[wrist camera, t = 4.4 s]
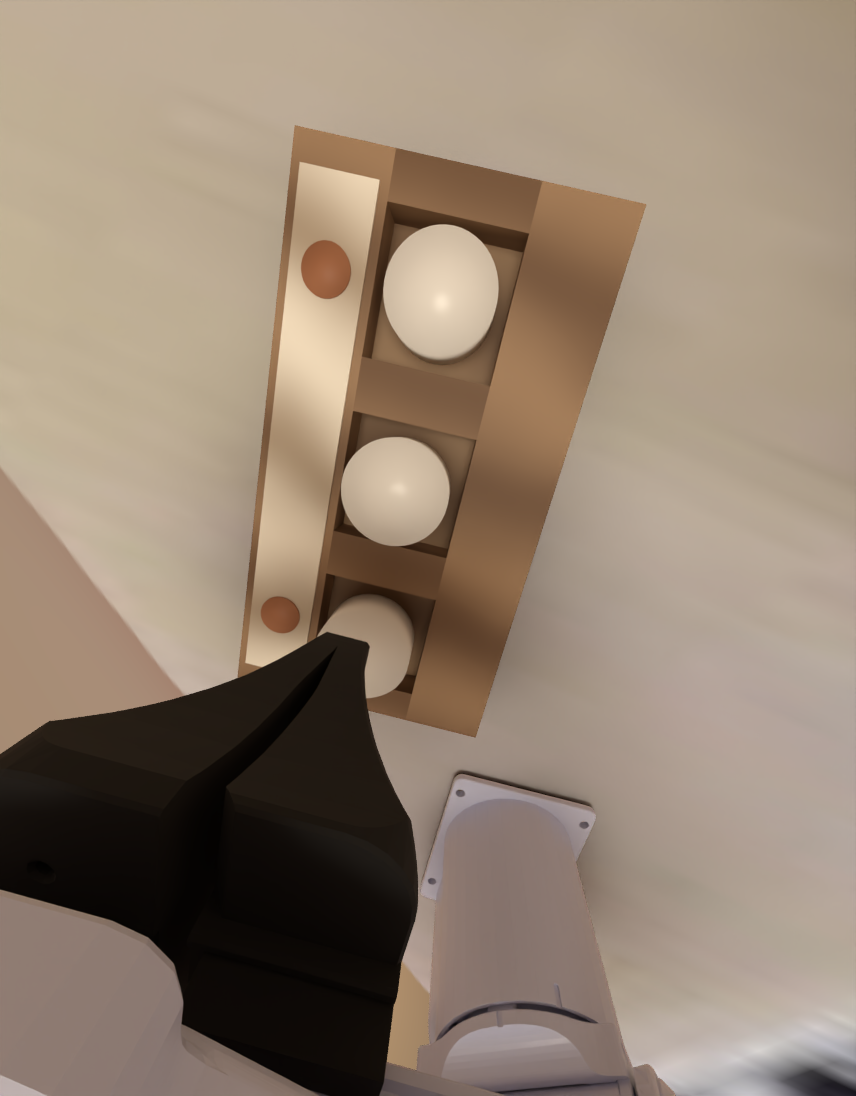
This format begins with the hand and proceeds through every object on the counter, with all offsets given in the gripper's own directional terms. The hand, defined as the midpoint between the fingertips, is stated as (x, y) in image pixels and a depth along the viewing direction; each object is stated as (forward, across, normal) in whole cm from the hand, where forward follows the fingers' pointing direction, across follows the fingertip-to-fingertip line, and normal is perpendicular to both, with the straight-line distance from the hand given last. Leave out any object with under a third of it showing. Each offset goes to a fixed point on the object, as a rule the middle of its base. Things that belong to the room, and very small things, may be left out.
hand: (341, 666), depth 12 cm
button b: (+6, 0, +2) cm, 7 cm away
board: (+8, 0, -4) cm, 9 cm away
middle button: (+7, 0, -4) cm, 8 cm away
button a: (+8, 0, -12) cm, 14 cm away
